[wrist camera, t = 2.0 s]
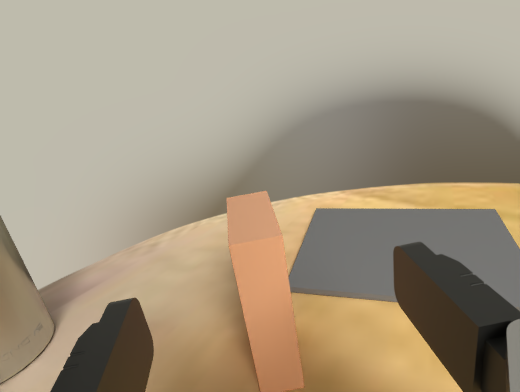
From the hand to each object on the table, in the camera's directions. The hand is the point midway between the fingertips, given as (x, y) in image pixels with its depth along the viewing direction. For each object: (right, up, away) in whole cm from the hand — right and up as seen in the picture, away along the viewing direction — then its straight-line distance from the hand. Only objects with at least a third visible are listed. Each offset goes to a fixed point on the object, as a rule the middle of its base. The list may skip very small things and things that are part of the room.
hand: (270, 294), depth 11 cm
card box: (+1, -9, +16) cm, 18 cm away
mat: (+15, -3, +26) cm, 30 cm away
